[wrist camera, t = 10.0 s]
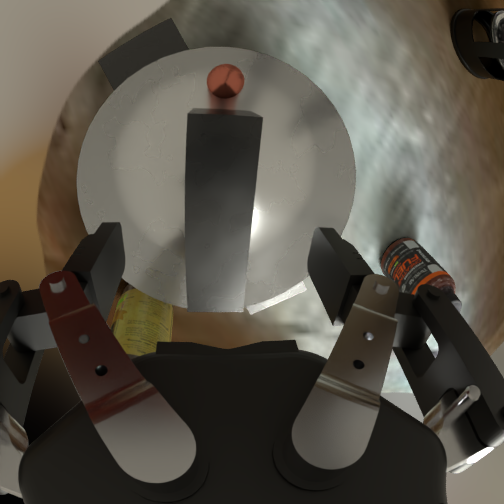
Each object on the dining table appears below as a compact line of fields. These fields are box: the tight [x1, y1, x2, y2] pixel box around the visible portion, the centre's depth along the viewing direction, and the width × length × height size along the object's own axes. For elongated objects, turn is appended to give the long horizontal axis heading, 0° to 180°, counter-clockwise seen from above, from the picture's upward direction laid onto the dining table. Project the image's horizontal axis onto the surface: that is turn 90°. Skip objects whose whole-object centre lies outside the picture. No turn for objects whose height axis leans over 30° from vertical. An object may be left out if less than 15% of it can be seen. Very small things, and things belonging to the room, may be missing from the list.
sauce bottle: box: [110, 284, 173, 360], centre depth 24 cm, size 6×6×20 cm
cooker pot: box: [98, 18, 306, 314], centre depth 22 cm, size 22×17×9 cm
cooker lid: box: [77, 47, 356, 312], centre depth 15 cm, size 17×17×5 cm
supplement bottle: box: [381, 238, 462, 313], centre depth 29 cm, size 6×6×11 cm
